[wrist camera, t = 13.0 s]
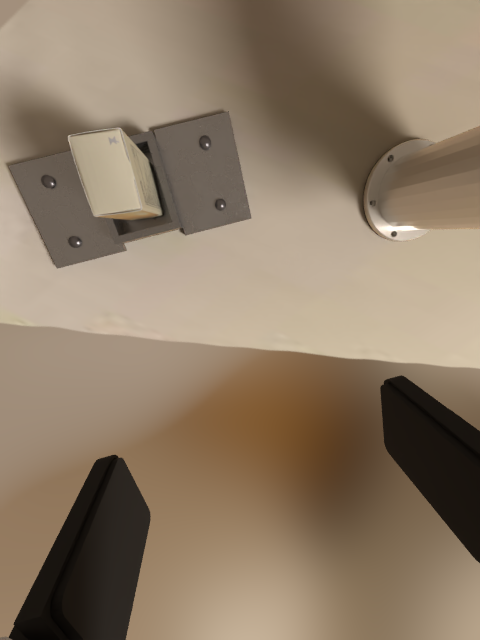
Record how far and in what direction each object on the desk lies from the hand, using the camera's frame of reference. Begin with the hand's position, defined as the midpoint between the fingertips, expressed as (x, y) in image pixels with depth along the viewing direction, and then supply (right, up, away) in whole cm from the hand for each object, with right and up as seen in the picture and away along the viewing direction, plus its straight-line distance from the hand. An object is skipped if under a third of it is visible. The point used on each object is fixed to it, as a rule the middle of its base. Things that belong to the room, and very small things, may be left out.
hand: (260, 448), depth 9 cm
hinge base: (-13, +20, +24) cm, 34 cm away
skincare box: (-13, +20, +24) cm, 34 cm away
